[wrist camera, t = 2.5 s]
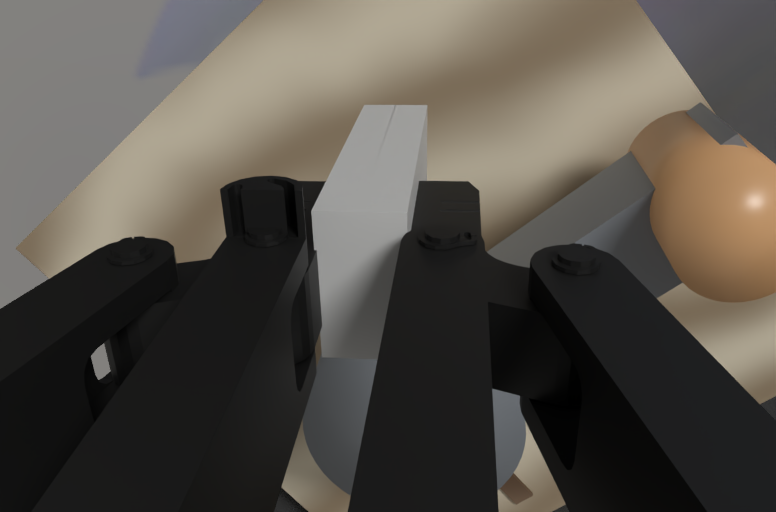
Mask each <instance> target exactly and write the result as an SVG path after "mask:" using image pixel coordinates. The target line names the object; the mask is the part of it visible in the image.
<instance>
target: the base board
mask: <svg viewBox="0 0 776 512" xmlns="http://www.w3.org/2000/svg"><path fill="white" fill-rule="evenodd" d="M700 102H701V103H702V104H704V105H705V106H706V107H707V108H708V109H709V110H711V111H712V112H713V113H714V111H713V110H712V108H711V107H710V106H709V104H708V103H707V101H706V100H705V98H704V97H703V96H702V94H701V93H700V91H699V90H698V88H697V87H696V86H695V84H694V83H693V81H692V80H691V78H690V77H689V76H688V74H687V73H686V71H685V70H684V68H683V67H682V66H681V64H680V63H679V61H678V60H677V58H676V57H675V56H674V54H673V53H672V51H671V50H670V48H669V47H668V46H667V44H666V43H665V41H664V40H663V38H662V37H661V36H660V34H659V33H658V31H657V30H656V28H655V27H654V26H653V24H652V23H651V21H650V20H649V18H648V17H647V16H646V14H645V13H644V11H643V10H642V8H641V7H640V6H639V4H638V3H637V1H636V0H263V1H262V2H261V3H260V4H259V5H258V6H257V7H256V8H255V9H254V10H253V11H252V12H251V13H250V14H249V15H248V16H247V17H246V18H245V19H244V20H243V21H242V22H241V23H240V24H239V25H238V26H237V27H236V28H235V29H234V30H233V31H232V32H231V33H230V34H229V35H228V36H227V37H226V38H225V39H224V40H223V41H222V42H221V43H220V44H219V45H218V46H217V47H216V48H215V49H214V50H213V51H212V52H211V53H210V54H209V55H208V56H207V57H206V58H205V59H204V60H203V61H202V62H201V63H200V64H199V65H198V66H197V67H196V68H195V69H194V70H193V71H192V72H191V73H190V74H189V75H188V76H187V78H185V80H183V81H182V82H181V83H180V84H179V85H178V86H177V87H176V88H175V89H174V91H172V92H171V94H169V95H168V96H167V97H166V98H165V100H164V101H162V103H160V104H159V105H158V106H157V107H156V108H155V109H154V110H153V111H152V112H151V113H150V114H149V115H148V116H147V117H146V118H145V120H143V121H142V122H141V123H140V125H138V126H137V127H136V128H135V129H134V130H133V132H131V133H130V134H129V136H128V137H126V138H125V139H124V140H123V142H121V143H120V144H119V146H117V147H116V148H115V149H114V150H113V151H112V152H111V153H110V154H109V155H108V156H107V157H106V158H105V159H104V160H103V161H102V162H101V163H100V164H99V165H98V166H97V167H96V168H95V169H94V170H93V171H92V172H91V173H90V174H89V175H88V176H87V177H86V178H85V179H84V180H83V181H82V182H81V183H80V184H79V185H78V187H76V188H75V189H74V190H73V191H72V192H71V193H70V194H69V195H68V196H67V197H66V198H65V199H64V200H63V201H62V202H61V203H60V204H59V205H58V206H57V207H56V208H55V209H54V210H53V211H52V213H50V214H49V215H48V216H47V217H46V218H45V219H44V220H43V222H41V223H40V224H39V225H38V226H37V227H36V228H35V229H34V230H33V231H32V232H31V233H30V234H29V235H28V236H27V237H26V238H25V239H24V240H23V242H21V243H20V244H19V245H18V246H17V247H16V249H17V250H18V251H19V252H20V253H21V254H22V255H24V256H25V257H26V258H27V259H28V260H29V261H30V262H31V263H32V264H33V265H35V266H36V267H37V268H38V269H39V270H40V271H41V272H43V273H44V274H45V275H46V276H47V277H48V278H49V279H50V278H51V277H53V276H55V275H56V274H58V273H59V272H61V271H63V270H64V269H66V268H68V267H69V266H71V265H72V264H74V263H76V262H77V261H79V260H80V259H82V258H84V257H85V256H87V255H89V254H90V253H92V252H93V251H95V250H97V249H99V248H101V247H103V246H105V245H108V244H110V243H114V242H118V241H120V240H121V239H123V238H128V237H132V238H134V237H137V236H144V237H145V238H158V239H161V240H165V241H168V242H169V243H170V244H171V245H173V246H174V250H175V256H176V262H177V263H183V262H191V261H199V260H205V259H211V258H212V256H213V255H214V253H215V252H216V251H217V249H218V248H219V246H220V245H221V244H222V242H223V241H224V239H225V238H226V231H225V224H224V216H223V209H222V201H221V194H220V189H221V188H222V187H224V186H225V185H227V184H228V183H231V182H234V181H237V180H240V179H244V178H250V177H255V176H281V177H288V178H291V179H294V180H297V181H326V180H327V178H328V176H329V174H330V172H331V170H332V168H333V166H334V164H335V162H336V160H337V158H338V156H339V154H340V152H341V150H342V148H343V146H344V144H345V142H346V140H347V138H348V136H349V134H350V132H351V130H352V128H353V126H354V124H355V122H356V120H357V118H358V116H359V114H360V112H361V110H362V108H363V106H364V105H427V181H469V182H470V183H471V184H472V185H473V186H474V187H476V188H477V189H478V190H479V195H480V215H481V235H482V238H483V240H484V242H485V251H486V252H487V251H489V250H490V249H491V248H493V247H494V246H496V245H497V244H499V243H500V242H501V241H503V240H504V239H506V238H507V237H509V236H510V235H511V234H513V233H514V232H516V231H517V230H519V229H520V228H521V227H523V226H524V225H526V224H527V223H529V222H530V221H531V220H533V219H534V218H536V217H537V216H539V215H540V214H541V213H543V212H544V211H546V210H547V209H549V208H550V207H551V206H553V205H554V204H556V203H557V202H559V201H560V200H561V199H563V198H564V197H566V196H567V195H569V194H570V193H571V192H573V191H574V190H576V189H577V188H579V187H580V186H581V185H583V184H584V183H586V182H587V181H589V180H590V179H591V178H593V177H594V176H596V175H597V174H599V173H600V172H601V171H603V170H604V169H606V168H607V167H608V166H610V165H611V164H613V163H614V162H616V161H617V160H618V159H620V158H621V157H623V156H624V155H626V154H627V153H628V150H629V148H630V146H631V144H632V142H633V141H634V139H635V138H636V137H637V135H638V134H639V133H640V132H641V131H642V130H643V129H644V128H645V127H646V126H647V125H649V124H650V123H651V122H653V121H654V120H656V119H658V118H660V117H662V116H664V115H666V114H669V113H672V112H677V111H683V110H690V109H691V108H693V107H694V106H696V105H697V104H698V103H700ZM714 114H715V113H714ZM715 115H716V114H715ZM657 299H658V300H659V302H660V303H661V304H662V305H663V306H664V307H665V308H666V309H667V310H668V311H669V312H670V313H671V314H672V315H673V316H674V317H675V318H676V319H677V320H678V321H679V322H680V323H681V324H682V325H683V326H684V327H685V328H686V329H687V330H688V331H689V332H690V333H691V334H692V335H693V336H694V337H695V338H696V339H697V340H698V341H699V343H700V344H701V345H702V346H703V347H704V348H705V349H706V350H707V351H708V352H709V353H710V354H711V355H712V356H713V357H714V358H715V359H716V360H717V361H718V362H719V363H720V364H721V365H722V366H723V367H724V368H725V369H726V370H727V371H728V372H729V373H730V374H731V375H732V376H733V377H734V378H735V379H736V380H737V381H738V382H739V384H740V385H741V386H742V387H743V388H744V389H745V390H746V391H747V392H748V393H749V394H750V395H751V396H752V397H753V398H754V399H755V400H756V401H757V402H758V403H759V404H761V403H763V402H765V401H767V400H769V399H771V398H773V397H774V396H776V292H775V293H773V294H771V295H769V296H766V297H763V298H760V299H757V300H753V301H747V302H736V303H731V302H720V301H715V300H711V299H708V298H705V297H703V296H701V295H698V294H697V293H695V292H694V291H692V290H691V289H689V288H688V287H687V286H686V285H685V284H684V283H681V284H680V285H678V286H676V287H675V288H673V289H671V290H670V291H668V292H667V293H665V294H663V295H662V296H660V297H658V298H657ZM315 353H316V367H317V364H318V361H319V359H320V356H321V353H322V351H321V337H320V334H319V337H318V340H317V343H316V346H315ZM525 424H526V440H525V447H524V451H523V454H522V458H521V460H520V462H519V464H518V466H517V468H516V470H515V471H514V473H513V474H512V476H511V477H510V478H509V480H508V481H507V482H506V483H505V484H504V485H503V486H502V487H501V488H500V489H499V490H498V509H499V512H552V511H554V510H556V509H558V508H559V507H561V506H563V505H565V501H564V499H563V497H562V495H561V493H560V491H559V489H558V487H557V485H556V483H555V481H554V479H553V477H552V475H551V473H550V471H549V469H548V467H547V464H546V462H545V460H544V458H543V456H542V454H541V452H540V450H539V448H538V446H537V444H536V442H535V440H534V438H533V436H532V434H531V432H530V430H529V428H528V425H527V423H526V421H525ZM282 488H283V489H284V490H285V491H286V492H287V493H288V494H289V495H291V496H292V497H293V498H294V499H295V500H296V501H297V502H298V503H299V504H301V505H302V506H303V507H304V508H305V509H306V510H307V511H308V512H348V507H349V502H350V497H351V496H350V495H349V494H347V493H346V492H344V491H343V490H341V489H340V488H339V487H338V486H336V485H335V484H334V483H333V482H332V481H331V480H330V479H329V478H328V477H327V476H326V475H325V474H324V473H323V472H322V470H321V469H320V468H319V466H318V465H317V464H316V462H315V460H314V459H313V457H312V455H311V453H310V451H309V449H308V446H307V443H306V440H305V436H304V431H303V419H302V422H301V425H300V429H299V432H298V435H297V438H296V442H295V445H294V448H293V451H292V454H291V458H290V461H289V464H288V467H287V470H286V474H285V477H284V480H283V483H282Z"/></svg>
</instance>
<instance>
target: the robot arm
mask: <svg viewBox="0 0 776 512" xmlns="http://www.w3.org/2000/svg"><path fill="white" fill-rule="evenodd" d="M220 194H221V201H222V209H223V216H224V224H225V231H226V238H225V239H224V241H223V242H222V244H221V245H220V246H219V248H218V249H217V251H216V252H215V253H214V255H213V256H212V258H211V259H205V260H199V261H191V262H183V263H177V262H176V256H175V250H174V246H173V245H171V244H170V243H169V242H168V241H165V240H161V239H158V238H145V237H144V236H137V237H134V238H132V237H128V238H123V239H121V240H120V241H118V242H114V243H110V244H108V245H105V246H103V247H101V248H99V249H97V250H95V251H93V252H92V253H90V254H89V255H87V256H85V257H84V258H82V259H80V260H79V261H77V262H76V263H74V264H72V265H71V266H69V267H68V268H66V269H64V270H63V271H61V272H59V273H58V274H56V275H55V276H53V277H51V278H50V279H48V280H46V281H45V282H43V283H42V284H40V285H38V286H37V287H35V288H34V289H32V290H30V291H29V292H27V293H25V294H24V295H22V296H21V297H19V298H17V299H16V300H14V301H12V302H11V303H9V304H8V305H6V306H4V307H3V308H1V309H0V512H274V509H275V506H276V503H277V499H278V496H279V493H280V490H281V487H282V483H283V480H284V477H285V474H286V470H287V467H288V464H289V461H290V458H291V454H292V451H293V448H294V445H295V442H296V438H297V435H298V432H299V429H300V425H301V422H302V419H303V416H304V413H305V409H306V406H307V403H308V400H309V396H310V393H311V390H312V387H313V384H314V380H315V377H316V374H317V369H316V353H315V346H316V343H317V340H318V337H319V334H320V337H321V351H322V357H326V358H352V359H378V360H377V365H376V370H375V375H374V380H373V385H372V390H371V395H370V400H369V405H368V410H367V416H366V421H365V426H364V431H363V436H362V441H361V446H360V451H359V456H358V461H357V466H356V471H355V477H354V482H353V487H352V492H351V497H350V502H349V507H348V512H499V509H498V490H497V470H496V451H495V432H494V412H493V393H492V389H495V390H499V391H503V392H507V393H511V394H515V395H519V396H520V408H521V413H522V415H523V417H524V419H525V421H526V423H527V425H528V428H529V430H530V432H531V434H532V436H533V438H534V440H535V442H536V444H537V446H538V448H539V450H540V452H541V454H542V456H543V458H544V460H545V462H546V464H547V467H548V469H549V471H550V473H551V475H552V477H553V479H554V481H555V483H556V485H557V487H558V489H559V491H560V493H561V495H562V497H563V499H564V501H565V504H566V506H567V508H568V510H569V512H776V420H775V419H774V418H773V417H772V416H771V415H770V414H769V413H768V412H767V411H766V410H765V409H764V408H763V407H762V406H761V405H760V404H759V403H758V402H757V401H756V400H755V399H754V398H753V397H752V396H751V395H750V394H749V393H748V392H747V391H746V390H745V389H744V388H743V387H742V386H741V385H740V384H739V382H738V381H737V380H736V379H735V378H734V377H733V376H732V375H731V374H730V373H729V372H728V371H727V370H726V369H725V368H724V367H723V366H722V365H721V364H720V363H719V362H718V361H717V360H716V359H715V358H714V357H713V356H712V355H711V354H710V353H709V352H708V351H707V350H706V349H705V348H704V347H703V346H702V345H701V344H700V343H699V341H698V340H697V339H696V338H695V337H694V336H693V335H692V334H691V333H690V332H689V331H688V330H687V329H686V328H685V327H684V326H683V325H682V324H681V323H680V322H679V321H678V320H677V319H676V318H675V317H674V316H673V315H672V314H671V313H670V312H669V311H668V310H667V309H666V308H665V307H664V306H663V305H662V304H661V303H660V302H659V300H658V299H657V298H656V297H655V296H654V295H653V294H652V293H651V292H650V291H649V290H648V289H647V288H646V287H645V286H644V285H643V284H642V283H641V282H640V281H639V280H638V279H637V278H636V277H635V276H634V275H633V274H632V273H631V272H630V271H629V270H628V269H627V268H626V267H625V266H624V265H623V264H622V263H621V262H620V261H619V260H618V259H617V258H615V257H614V256H612V255H611V254H610V253H608V252H605V251H602V250H599V249H596V248H595V247H593V246H590V245H585V244H584V246H582V244H576V243H572V244H569V245H555V246H550V247H545V248H543V249H541V250H539V251H537V252H535V253H534V255H533V256H532V258H531V259H530V268H528V267H522V266H517V265H513V264H509V263H506V262H503V261H501V260H498V259H496V258H494V257H493V256H491V255H489V254H488V253H487V252H486V251H485V242H484V240H483V238H482V235H481V215H480V195H479V190H478V189H477V188H476V187H474V186H473V185H472V184H471V183H470V182H469V181H427V105H364V106H363V108H362V110H361V112H360V114H359V116H358V118H357V120H356V122H355V124H354V126H353V128H352V130H351V132H350V134H349V136H348V138H347V140H346V142H345V144H344V146H343V148H342V150H341V152H340V154H339V156H338V158H337V160H336V162H335V164H334V166H333V168H332V170H331V172H330V174H329V176H328V178H327V180H326V181H297V180H294V179H291V178H288V177H281V176H255V177H250V178H244V179H240V180H237V181H234V182H231V183H228V184H227V185H225V186H224V187H222V188H221V189H220ZM103 343H104V344H105V348H106V353H107V357H108V361H109V365H110V370H111V372H109V373H108V374H107V375H106V376H105V377H103V378H102V379H100V380H98V379H97V377H96V375H95V372H94V368H93V364H92V360H91V355H92V354H93V353H94V351H95V350H96V349H97V348H98V347H99V346H100V345H102V344H103Z"/></svg>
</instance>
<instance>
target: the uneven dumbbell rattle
mask: <svg viewBox="0 0 776 512" xmlns="http://www.w3.org/2000/svg"><path fill="white" fill-rule="evenodd" d="M572 243H576V244H582V246H584V244H585V245H590V246H593V247H595V248H596V249H599V250H602V251H605V252H608V253H610V254H611V255H612V256H614V257H615V258H617V259H618V260H619V261H620V262H621V263H622V264H623V265H624V266H625V267H626V268H627V269H628V270H629V271H630V272H631V273H632V274H633V275H634V276H635V277H636V278H637V279H638V280H639V281H640V282H641V283H642V284H643V285H644V286H645V287H646V288H647V289H648V290H649V291H650V292H651V293H652V294H653V295H654V296H655V297H656V298H658V297H660V296H662V295H663V294H665V293H667V292H668V291H670V290H671V289H673V288H675V287H676V286H678V285H680V284H681V283H684V284H685V285H686V286H687V287H688V288H689V289H691V290H692V291H694V292H695V293H697V294H698V295H701V296H703V297H705V298H708V299H711V300H715V301H720V302H731V303H736V302H747V301H753V300H757V299H760V298H763V297H766V296H769V295H771V294H773V293H775V292H776V164H774V163H773V162H772V161H771V160H770V159H768V158H767V157H766V156H765V155H764V154H762V153H761V152H760V151H759V150H758V149H756V148H755V147H754V146H753V145H752V144H750V143H749V142H748V141H747V140H746V139H744V138H743V137H742V136H741V135H740V134H738V133H737V132H736V131H735V130H734V129H732V128H731V127H730V126H729V125H728V124H726V123H725V122H724V121H723V120H721V119H720V118H719V117H718V116H717V115H715V114H714V113H713V112H712V111H711V110H709V109H708V108H707V107H706V106H705V105H704V104H702V103H701V102H700V103H698V104H697V105H696V106H694V107H693V108H691V109H690V110H683V111H677V112H672V113H669V114H666V115H664V116H662V117H660V118H658V119H656V120H654V121H653V122H651V123H650V124H649V125H647V126H646V127H645V128H644V129H643V130H642V131H641V132H640V133H639V134H638V135H637V137H636V138H635V139H634V141H633V142H632V144H631V146H630V148H629V150H628V153H627V154H626V155H624V156H623V157H621V158H620V159H618V160H617V161H616V162H614V163H613V164H611V165H610V166H608V167H607V168H606V169H604V170H603V171H601V172H600V173H599V174H597V175H596V176H594V177H593V178H591V179H590V180H589V181H587V182H586V183H584V184H583V185H581V186H580V187H579V188H577V189H576V190H574V191H573V192H571V193H570V194H569V195H567V196H566V197H564V198H563V199H561V200H560V201H559V202H557V203H556V204H554V205H553V206H551V207H550V208H549V209H547V210H546V211H544V212H543V213H541V214H540V215H539V216H537V217H536V218H534V219H533V220H531V221H530V222H529V223H527V224H526V225H524V226H523V227H521V228H520V229H519V230H517V231H516V232H514V233H513V234H511V235H510V236H509V237H507V238H506V239H504V240H503V241H501V242H500V243H499V244H497V245H496V246H494V247H493V248H491V249H490V250H489V251H487V253H488V254H489V255H491V256H493V257H494V258H496V259H498V260H501V261H503V262H506V263H509V264H513V265H517V266H522V267H528V268H530V259H531V258H532V256H533V255H534V253H535V252H537V251H539V250H541V249H543V248H545V247H550V246H555V245H569V244H572ZM377 360H378V359H352V358H326V357H322V353H321V356H320V359H319V361H318V364H317V367H316V369H317V374H316V377H315V380H314V384H313V387H312V390H311V393H310V396H309V400H308V403H307V406H306V409H305V413H304V416H303V431H304V436H305V440H306V443H307V446H308V449H309V451H310V453H311V455H312V457H313V459H314V460H315V462H316V464H317V465H318V466H319V468H320V469H321V470H322V472H323V473H324V474H325V475H326V476H327V477H328V478H329V479H330V480H331V481H332V482H333V483H334V484H335V485H336V486H338V487H339V488H340V489H341V490H343V491H344V492H346V493H347V494H349V495H350V496H351V492H352V487H353V482H354V477H355V471H356V466H357V461H358V456H359V451H360V446H361V441H362V436H363V431H364V426H365V421H366V416H367V410H368V405H369V400H370V395H371V390H372V385H373V380H374V375H375V370H376V365H377ZM492 393H493V412H494V432H495V451H496V470H497V490H499V489H500V488H501V487H502V486H503V485H504V484H505V483H506V482H507V481H508V480H509V478H510V477H511V476H512V474H513V473H514V471H515V470H516V468H517V466H518V464H519V462H520V460H521V458H522V454H523V451H524V447H525V440H526V424H525V419H524V417H523V415H522V413H521V408H520V396H519V395H515V394H511V393H507V392H503V391H499V390H495V389H492Z"/></svg>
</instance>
